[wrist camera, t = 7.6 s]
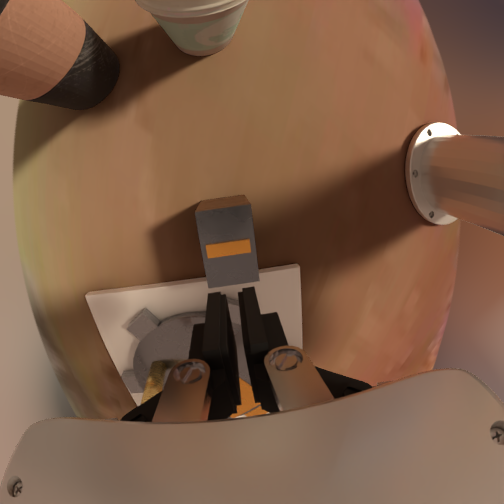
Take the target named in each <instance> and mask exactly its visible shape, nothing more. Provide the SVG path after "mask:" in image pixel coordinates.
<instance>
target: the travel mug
mask: <svg viewBox="0 0 504 504" xmlns="http://www.w3.org/2000/svg"><path fill="white" fill-rule="evenodd" d="M118 75H119V61H118V58H117V56H116V55H115V53H114V52H113V51H112V50H111V49H110V48H109V46H108V45H107V44H106V43H105V42H104V41H103V40H102V39H101V38H100V37H99V36H98V35H97V34H96V32H95V31H94V30H93V29H92V28H91V27H90V26H89V25H88V24H87V23H86V22H85V21H84V20H83V19H82V18H81V17H80V16H79V15H78V14H77V13H76V12H75V11H74V10H72V9H71V8H70V7H69V6H68V5H67V4H65V3H64V2H63V1H62V0H0V95H3V96H8V97H13V98H17V99H22V100H27V101H33V102H39V103H44V104H50V105H55V106H60V107H64V108H69V109H75V110H84V109H88V108H91V107H93V106H95V105H97V104H98V103H100V102H101V101H102V100H103V99H105V98H106V97H107V95H108V94H109V93H110V92H111V90H112V89H113V87H114V86H115V84H116V81H117V79H118Z"/></svg>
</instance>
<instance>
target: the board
mask: <svg viewBox="0 0 504 504" xmlns="http://www.w3.org/2000/svg"><path fill="white" fill-rule="evenodd" d="M258 271H259V280H260V281H258V282H251V283H244V284H237V285H230V286H223V287H216V288H209V289H208V284H207V278H206V277H201V278H194V279H187V280H179V281H172V282H164V283H156V284H149V285H141V286H133V287H124V288H116V289H108V290H99V291H91V292H88V293H87V294H86V295H85V297H86V300H87V302H88V305H89V308H90V310H91V313H92V315H93V318H94V320H95V323H96V325H97V328H98V330H99V332H100V335H101V337H102V339H103V341H104V343H105V346H106V348H107V350H108V352H109V354H110V356H111V358H112V360H113V362H114V364H115V366H116V368H117V370H118V372H119V374H120V376H122V373H123V371H127V370H134V368H133V358H134V354H135V351H136V348H137V346H138V343H139V341H140V340H138V339H137V338H136V337H135V336H134V335H133V334H131V333H130V332H129V331H128V330H127V327H128V324H129V323H130V322H131V321H132V320H133V319H134V318H135V317H136V316H137V315H138V314H140V313H141V312H142V311H143V310H144V309H145V308H147V309H148V310H149V311H150V312H151V313H152V314H153V315H155V316H156V317H157V318H158V319H159V320H160V321H161V320H163V319H165V318H167V317H170V316H173V315H176V314H181V313H185V312H195V311H206V307H207V297H208V293H214V292H221V295H223V294H226V297H228V298H232V299H235V300H238V292H242V288H247V287H253V286H254V287H255V291H256V296H257V300H258V304H259V308H260V313H261V314H267V313H273V312H277V313H278V316H279V319H280V322H281V324H282V327H283V330H284V333H285V336H286V339H287V342H288V345H289V346H295V347H299V348H301V349H302V350H303V348H302V304H301V279H300V266H299V265H298V264H290V265H284V266H277V267H271V268H264V269H258ZM123 382H124V381H123ZM126 387H127V386H126ZM127 389H128V388H127ZM128 391H129V389H128ZM129 392H130V391H129ZM130 394H131V396H132V398H133V399H134V401H135V403H136V404H137V406H139V405H141V400H142V396H143V393H130ZM268 413H269V412H268ZM266 414H267V413H266ZM239 417H247V416H245V415H241V416H238V417H235V418H239Z"/></svg>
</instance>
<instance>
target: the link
mask: <svg viewBox="0 0 504 504" xmlns="http://www.w3.org/2000/svg"><path fill="white" fill-rule="evenodd" d="M195 217H196V223H197V229H198V235H199V240H200V246H201V252H202V257H203V263H204V268H205V273H206V278H207V284H208V289H209V288H216V287H223V286H230V285H237V284H244V283H251V282H258V281H260V280H259V271H258V262H257V253H256V244H255V236H254V227H253V218H252V210H251V204H250V202H249V201H248V199H247V198H246V197H245V195H238V196H231V197H223V198H216V199H210V200H203V201H201V202H200V204H199V205H198V207H197V209H196V211H195Z"/></svg>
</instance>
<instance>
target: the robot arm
mask: <svg viewBox="0 0 504 504" xmlns="http://www.w3.org/2000/svg"><path fill="white" fill-rule="evenodd" d="M405 176H406V184H407V189H408V192H409V196H410V199H411V201H412V203H413V205H414V207H415V209H416V210H417V212H418V213H419V214H420V215H421V216H422V217H423V218H424V219H426V220H427V221H429V222H432V223H434V224H437V225H447V224H450V223H452V222H454V221H455V220H457V219H461V220H464V221H467V222H470V223H472V224H475V225H477V226H480V227H483V228H486V229H488V230H491V231H493V232H495V233H498V234H500V235H503V236H504V137H497V136H480V135H461V134H460V133H459V132H458V131H457V130H456V129H455V128H453V127H452V126H450V125H449V124H446V123H443V122H434V123H428V124H426V125H424V126H422V127H421V128H420V129H419V130H418V131H417V132H416V133H415V135H414V136H413V138H412V140H411V142H410V145H409V148H408V152H407V156H406V164H405ZM238 301H239V310H240V320H241V329H242V338H243V346H244V352H245V357H246V362H247V367H248V372H249V377H250V381H251V386H252V391H253V396H254V401H255V403H261V409H262V410H265V411H267V412H269V413H267V414H261V415H254V416H247V417H239V418H230V419H227V418H228V417H230V416H231V415H232V414H236V413H237V406H238V405H242V402H241V391H240V380H239V368H238V356H237V346H236V341H235V336H234V331H233V327H232V322H231V317H230V312H229V307H228V302H227V297H226V294H223V295H221V292H214V293H208V297H207V307H206V316H205V323H199V324H194V325H193V331H192V337H191V344H190V350H189V357H188V359H187V360H184V361H181V362H179V363H177V364H176V365H175V366H174V367H173V368H172V369H171V371H170V372H169V375H168V378H167V381H166V383H165V386H164V389H163V390H162V391H160V392H159V393H157V394H156V395H154V396H153V397H151V398H150V399H148V400H147V401H145V402H144V403H142V404H141V405H139V406H138V407H136V408H135V409H133V410H132V411H130V412H129V413H127V414H126V415H125V416H123V418H122V419H121V420H118V419H117V418H112V419H105V420H101V419H89V418H75V417H62V418H61V417H60V418H51V419H46V420H42V421H39V422H36V423H34V424H32V425H31V426H30V427H29V428H28V429H27V430H26V431H25V433H24V434H23V436H22V437H21V439H20V441H19V443H18V444H17V446H16V448H15V450H14V452H13V454H12V456H11V459H10V461H9V463H8V466H7V468H6V471H5V474H4V477H3V480H2V483H1V486H0V504H504V403H503V402H502V401H501V400H500V398H499V397H498V396H497V395H496V394H495V393H494V392H493V391H492V390H491V389H490V388H489V387H488V386H487V385H486V384H485V383H484V382H482V380H480V379H479V378H478V377H476V376H475V375H474V374H472V373H470V372H468V371H466V370H463V369H456V368H446V369H436V370H430V371H426V372H421V373H417V374H414V375H410V376H407V377H404V378H401V379H398V380H394V381H387V382H380V383H377V386H371V385H369V384H368V383H365V382H363V381H359V380H356V379H353V378H349V377H346V376H343V375H340V374H336V373H333V372H330V371H327V370H324V369H321V368H318V367H315V366H314V365H313V363H312V362H311V360H310V359H309V357H308V355H307V354H306V353H305V351H304V350H302V349H301V348H299V347H295V346H289V345H288V342H287V339H286V336H285V333H284V330H283V327H282V324H281V322H280V319H279V316H278V313H277V312H273V313H267V314H261V313H260V308H259V304H258V300H257V296H256V291H255V287H254V286H253V287H247V288H242V292H238Z"/></svg>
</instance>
